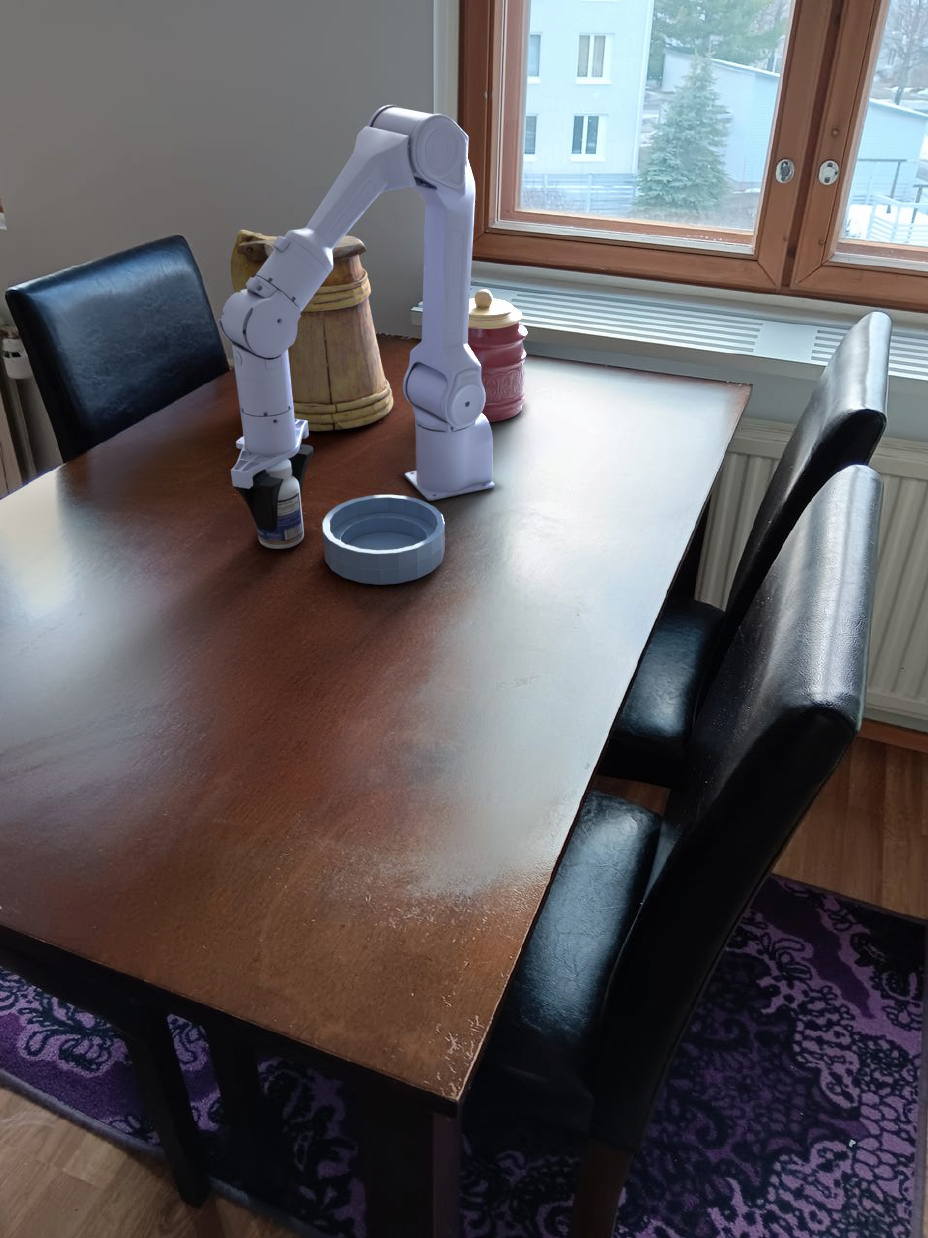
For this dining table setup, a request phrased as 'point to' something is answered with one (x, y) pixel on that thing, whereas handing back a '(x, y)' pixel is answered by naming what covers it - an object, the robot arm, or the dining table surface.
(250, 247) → the tankard
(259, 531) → the pill bottle
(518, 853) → the dining table surface
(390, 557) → the bowl
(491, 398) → the kitchen canister
